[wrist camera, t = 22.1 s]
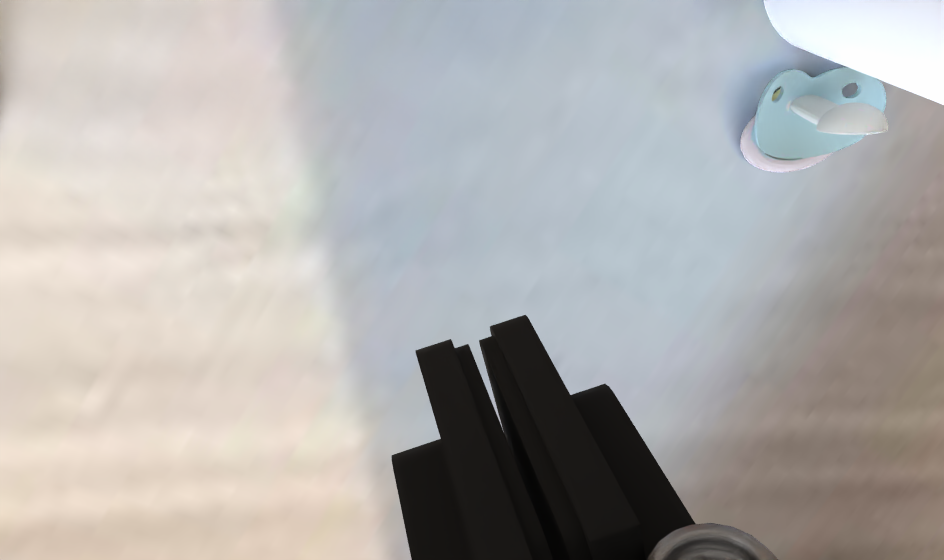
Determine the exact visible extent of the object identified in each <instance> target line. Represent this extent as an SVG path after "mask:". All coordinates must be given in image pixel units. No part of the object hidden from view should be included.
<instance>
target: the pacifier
mask: <svg viewBox="0 0 944 560" xmlns="http://www.w3.org/2000/svg"><path fill="white" fill-rule="evenodd" d="M849 83H856V84H857V86H858V90H857V91H856V93H855V94H854V95H852V96H849V97H844V96H843V95H842V90H843V88H844V87H845V86H846V85H847V84H849ZM778 87H780V89H779V90H778V91H776V92H775V93H774V91H775V90H776V89H777V88H778ZM773 93H774V94H773ZM885 106H886V94H885V89H884V87H883V85H882V83H881V82H880V81H879V79H877V78H874V77H871V76H869V75H866V74H864V73H861V72H859V71H856V70H854V69H851V68H849V67H841V68H835V69H831V70H829V71H826V72H823V73H822V74H820V75H818V76H816V77H813V78H811V77H810V76H809V75H808V74H806V73H804V72H803V71H799V70H793V69H791V70H785V71H782V72H780V73H779V74H777V75H776V76H775V77H774V78H773V79H772V80H771V81H770V82H769V83H768V85H767V86H766V88H765V90H764V92H763V94H762V96H761V99H760V102H759V105H758V108H757V112H756V115H755V116H754V117H753V118H752V119H751V120H750V121H749V123H748V124H747V125H746V127H745V128H744V131H743V133H742V136H741V151H742V153H743V156H744V158H745V159H746V160H747V161H748V162H749V163H750V164H751V165H753V166H755V167H757V168H759V169H761V170H766V171H770V172H792V171H797V170H802V169H805V168H808V167H810V166H813V165H815V164H817V163H819V162H821V161H823V160H824V159H826V158H827V157H828V156H830V155H831V154H832V153H833V152H835V151H838V150H841V149H843V148H846V147H848V146H851V145H852V144H854V143H856V142H857V141H859V140H861V139H862V138H863V137H864V136H865V135H867V134H877V133H882V132H886V131H887V130H888V122H887V119H886V117H885V115H884V114H883V112H884V109H885ZM764 152H765V153H764Z"/></svg>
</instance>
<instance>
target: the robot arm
mask: <svg viewBox="0 0 944 560" xmlns="http://www.w3.org/2000/svg"><path fill="white" fill-rule="evenodd" d="M490 331H491V335H492V336H491V337H488V338H485V339H482V340H479V342H480V347H481V351H482V354H483V358H484V362H485V365H486V369H487V373H488V376H489V380H490V383H491V387H492V391H493V394H494V398H495V402H496V405H497V409H498V413H499V416H500V420H501V424H502V427H503V430H502V427H501V425H500V422H499V420H498V417H497V415H496V412H495V410H494V407H493V405H492V402H491V400H490V397H489V395H488V392H487V390H486V387H485V385H484V382H483V380H482V377H481V375H480V372H479V370H478V367H477V365H476V362H475V360H474V357H473V355H472V352H471V350H470V347H469V345H468V344H467V345H464V346H461V347H458V348H454V346H453V343H452V340H451V339H450V340H447V341H444V342H441V343H438V344H434V345H431V346H428V347H425V348H422V349H419V350H416V355H417V358H418V362H419V365H420V369H421V372H422V375H423V379H424V382H425V386H426V389H427V393H428V396H429V399H430V403H431V406H432V410H433V413H434V416H435V420H436V423H437V427H438V430H439V434H440V437H441V439H439V440H436V441H433V442H430V443H427V444H424V445H421V446H418V447H415V448H412V449H409V450H406V451H403V452H400V453H397V454H394V455H392V464H393V470H394V475H395V479H396V484H397V489H398V494H399V499H400V504H401V509H402V514H403V519H404V524H405V529H406V534H407V538H408V543H409V548H410V553H411V558H412V560H778V559H777V557H776V556H775V555H774V554H773V553H772V552H771V551H770V550H769V549H768V548H767V547H766V546H764V545H763V544H762V543H761V542H759V541H758V540H757V539H756V538H754V537H753V536H752V535H750V534H748V533H745V532H743V531H741V530H739V529H736V528H734V527H731V526H725V525H720V524H714V523H707V524H695V522H694V521H693V519H692V518H691V516H690V514H689V513H688V511H687V510H686V508H685V506H684V505H683V503H682V502H681V500H680V498H679V497H678V495H677V494H676V492H675V490H674V489H673V487H672V486H671V484H670V482H669V481H668V479H667V478H666V476H665V474H664V473H663V471H662V470H661V468H660V466H659V465H658V463H657V462H656V460H655V458H654V457H653V455H652V454H651V452H650V450H649V449H648V447H647V445H646V444H645V442H644V441H643V439H642V437H641V436H640V434H639V433H638V431H637V429H636V428H635V426H634V425H633V423H632V421H631V420H630V418H629V417H628V415H627V413H626V412H625V410H624V409H623V407H622V405H621V404H620V402H619V401H618V399H617V397H616V396H615V394H614V393H613V391H612V390H611V389H610V387H609V386H607V385H606V384H603V385H600V386H597V387H594V388H591V389H588V390H585V391H582V392H579V393H576V394H573V395H570V394H569V392H568V390H567V388H566V387H565V385H564V383H563V381H562V379H561V377H560V376H559V374H558V372H557V370H556V368H555V366H554V365H553V363H552V361H551V359H550V357H549V355H548V353H547V352H546V350H545V348H544V346H543V344H542V342H541V341H540V339H539V337H538V335H537V333H536V331H535V330H534V328H533V326H532V324H531V322H530V320H529V319H528V317H527V316H526V315H524V316H520V317H517V318H514V319H511V320H508V321H505V322H502V323H499V324H496V325H493V326H490ZM503 431H504V432H503Z"/></svg>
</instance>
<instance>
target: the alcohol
mask: <svg viewBox="0 0 944 560" xmlns="http://www.w3.org/2000/svg"><path fill="white" fill-rule="evenodd" d="M764 4H765V9H766V12H767V14H768V17H769V19H770V21H771V23H772V25H773V27H774V28H775V29H776V30H777V32H778V33H779V34H780V36H781V37H782V38H784V39H785V40H786V41H788V42H789V43H790V44H792V45H793V46H796V47H798V48H800V49H803V50H805V51H808V52H810V53H813V54H815V55H818V56H821V57H823V58H826V59H828V60H831V61H833V62H836V63H838V64H841V65H843V66H846V67H849V68H851V69H854V70H856V71H859V72H861V73H864V74H866V75H869V76H871V77H874V78H877V79H879V80H882V81H884V82H887V83H889V84H892V85H894V86H897V87H899V88H902V89H905V90H907V91H910V92H912V93H915V94H917V95H920V96H922V97H925V98H927V99H930V100H933V101H935V102H938V103H940V104H943V105H944V0H764Z"/></svg>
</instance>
